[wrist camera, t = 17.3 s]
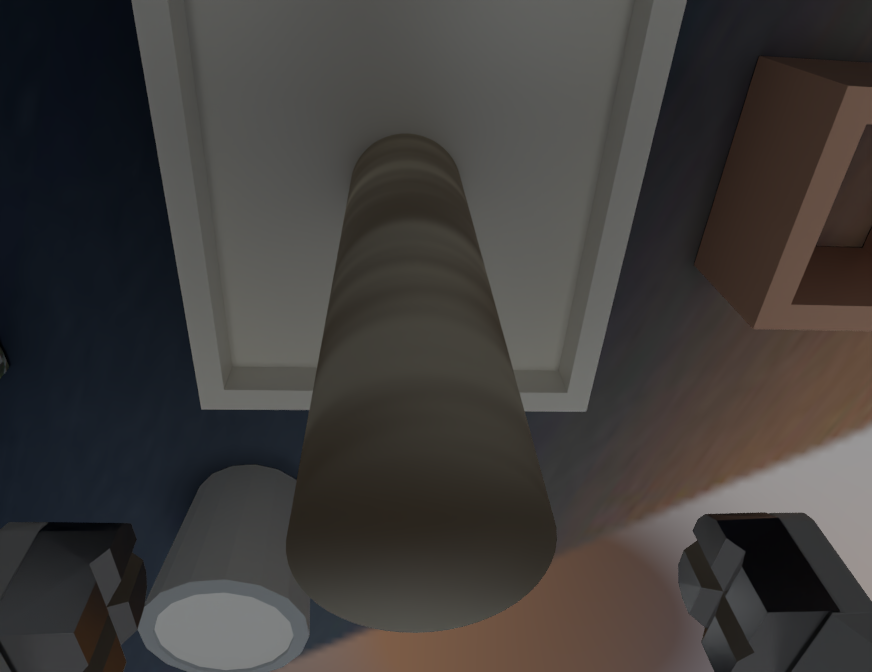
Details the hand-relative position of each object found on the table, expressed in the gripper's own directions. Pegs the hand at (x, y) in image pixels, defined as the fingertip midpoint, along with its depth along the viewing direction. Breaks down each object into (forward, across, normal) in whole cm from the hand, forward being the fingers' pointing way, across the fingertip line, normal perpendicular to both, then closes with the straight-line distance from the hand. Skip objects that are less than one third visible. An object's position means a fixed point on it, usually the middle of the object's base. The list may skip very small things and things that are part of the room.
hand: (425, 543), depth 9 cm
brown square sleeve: (+17, -16, 0) cm, 23 cm away
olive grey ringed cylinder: (+16, 0, +1) cm, 16 cm away
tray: (+17, 0, +1) cm, 17 cm away
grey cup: (+16, +7, +18) cm, 25 cm away
